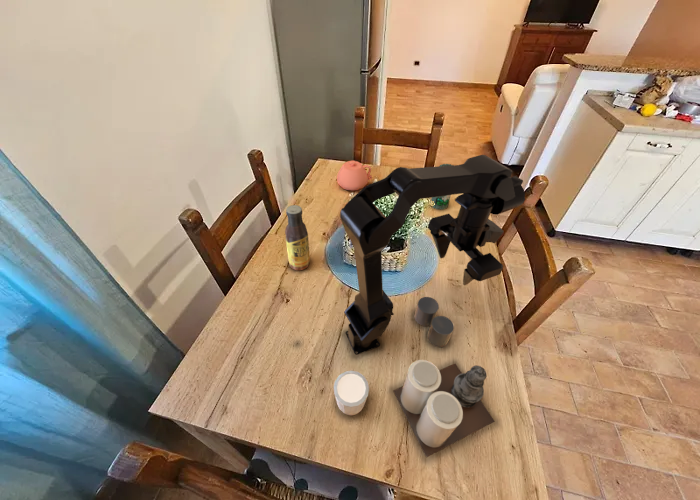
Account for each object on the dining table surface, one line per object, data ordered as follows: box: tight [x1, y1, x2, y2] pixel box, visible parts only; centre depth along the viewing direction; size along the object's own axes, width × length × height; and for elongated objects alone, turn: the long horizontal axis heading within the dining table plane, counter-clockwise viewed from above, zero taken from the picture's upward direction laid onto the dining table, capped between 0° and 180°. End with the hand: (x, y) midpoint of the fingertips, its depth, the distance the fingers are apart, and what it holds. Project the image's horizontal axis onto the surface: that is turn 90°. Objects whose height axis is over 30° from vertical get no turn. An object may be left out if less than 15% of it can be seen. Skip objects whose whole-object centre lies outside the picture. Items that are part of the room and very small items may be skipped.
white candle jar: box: [333, 370, 370, 416], centre depth 62 cm, size 7×7×7 cm
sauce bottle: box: [284, 204, 311, 271], centre depth 85 cm, size 7×6×20 cm
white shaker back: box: [401, 359, 441, 414], centre depth 60 cm, size 6×6×12 cm
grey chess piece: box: [451, 365, 488, 408], centre depth 61 cm, size 6×6×12 cm
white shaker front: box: [416, 391, 463, 447], centre depth 56 cm, size 6×6×12 cm
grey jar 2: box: [426, 315, 455, 348], centre depth 73 cm, size 5×5×6 cm
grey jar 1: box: [413, 296, 440, 327], centre depth 77 cm, size 5×5×6 cm
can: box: [430, 163, 453, 211], centre depth 109 cm, size 6×6×15 cm
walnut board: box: [392, 363, 496, 458], centre depth 63 cm, size 16×13×1 cm
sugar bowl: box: [336, 160, 373, 191], centre depth 120 cm, size 12×14×10 cm
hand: (453, 270), depth 73 cm, fingers open, 9 cm apart
